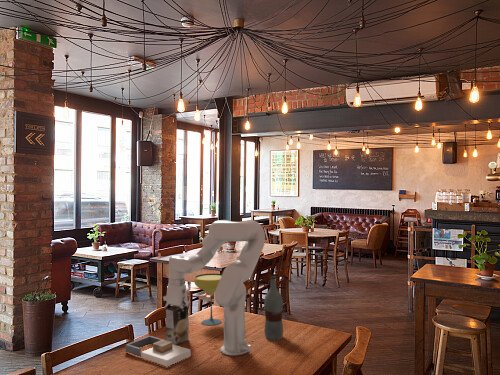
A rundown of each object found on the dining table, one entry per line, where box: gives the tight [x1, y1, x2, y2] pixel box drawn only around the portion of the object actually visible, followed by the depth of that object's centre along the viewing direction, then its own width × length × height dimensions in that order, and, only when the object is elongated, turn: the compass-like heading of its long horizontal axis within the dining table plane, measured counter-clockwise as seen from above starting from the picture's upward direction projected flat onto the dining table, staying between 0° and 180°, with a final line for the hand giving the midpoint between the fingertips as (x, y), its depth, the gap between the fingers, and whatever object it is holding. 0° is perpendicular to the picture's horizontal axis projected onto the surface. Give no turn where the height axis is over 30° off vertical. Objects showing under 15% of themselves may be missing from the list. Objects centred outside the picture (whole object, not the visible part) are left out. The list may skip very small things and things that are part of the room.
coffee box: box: [165, 306, 189, 345], centre depth 204 cm, size 9×6×16 cm
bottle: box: [263, 275, 284, 341], centre depth 208 cm, size 9×9×30 cm
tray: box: [125, 335, 164, 357], centre depth 192 cm, size 10×14×4 cm
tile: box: [153, 339, 173, 353], centre depth 185 cm, size 6×6×3 cm
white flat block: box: [141, 344, 192, 367], centre depth 184 cm, size 16×14×3 cm
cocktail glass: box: [193, 273, 223, 327], centre depth 232 cm, size 18×18×25 cm
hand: (176, 316), depth 204 cm, fingers open, 9 cm apart
